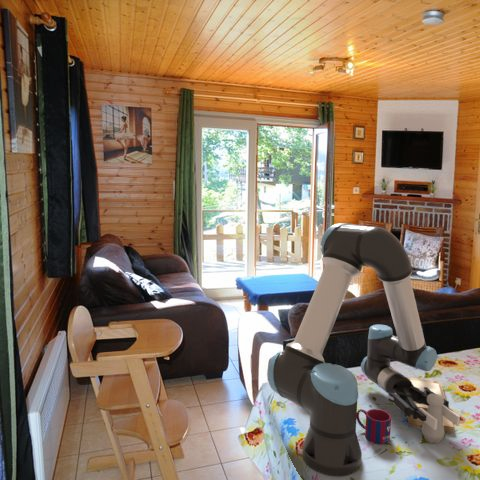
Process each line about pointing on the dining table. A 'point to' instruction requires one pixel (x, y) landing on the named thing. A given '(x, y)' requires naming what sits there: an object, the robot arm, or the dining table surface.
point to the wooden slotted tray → (437, 389)
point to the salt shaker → (436, 411)
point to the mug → (376, 425)
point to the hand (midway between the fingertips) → (447, 422)
